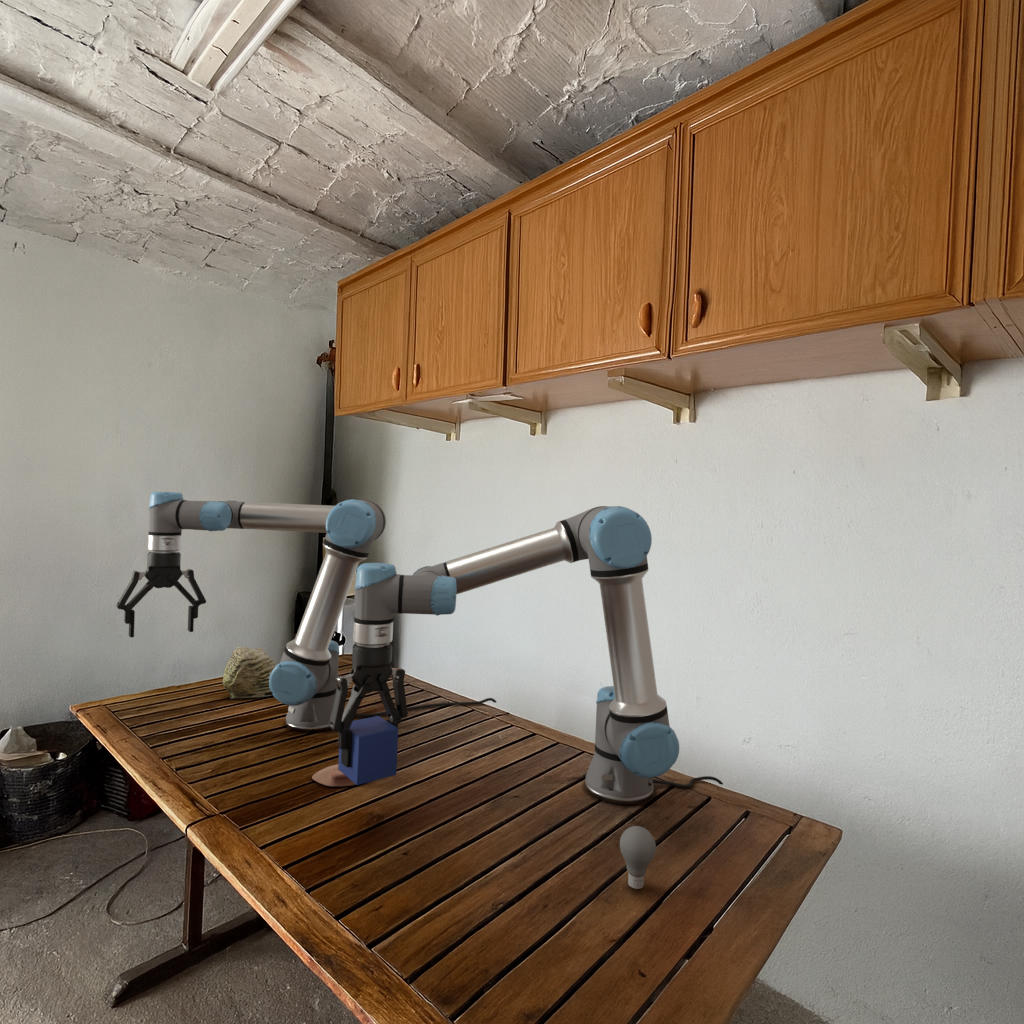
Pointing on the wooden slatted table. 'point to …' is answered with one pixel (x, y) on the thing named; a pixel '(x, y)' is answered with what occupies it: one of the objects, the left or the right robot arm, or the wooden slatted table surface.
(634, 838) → the light bulb
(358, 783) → the block
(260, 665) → the fossil
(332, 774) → the anatomical model
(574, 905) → the wooden slatted table surface
